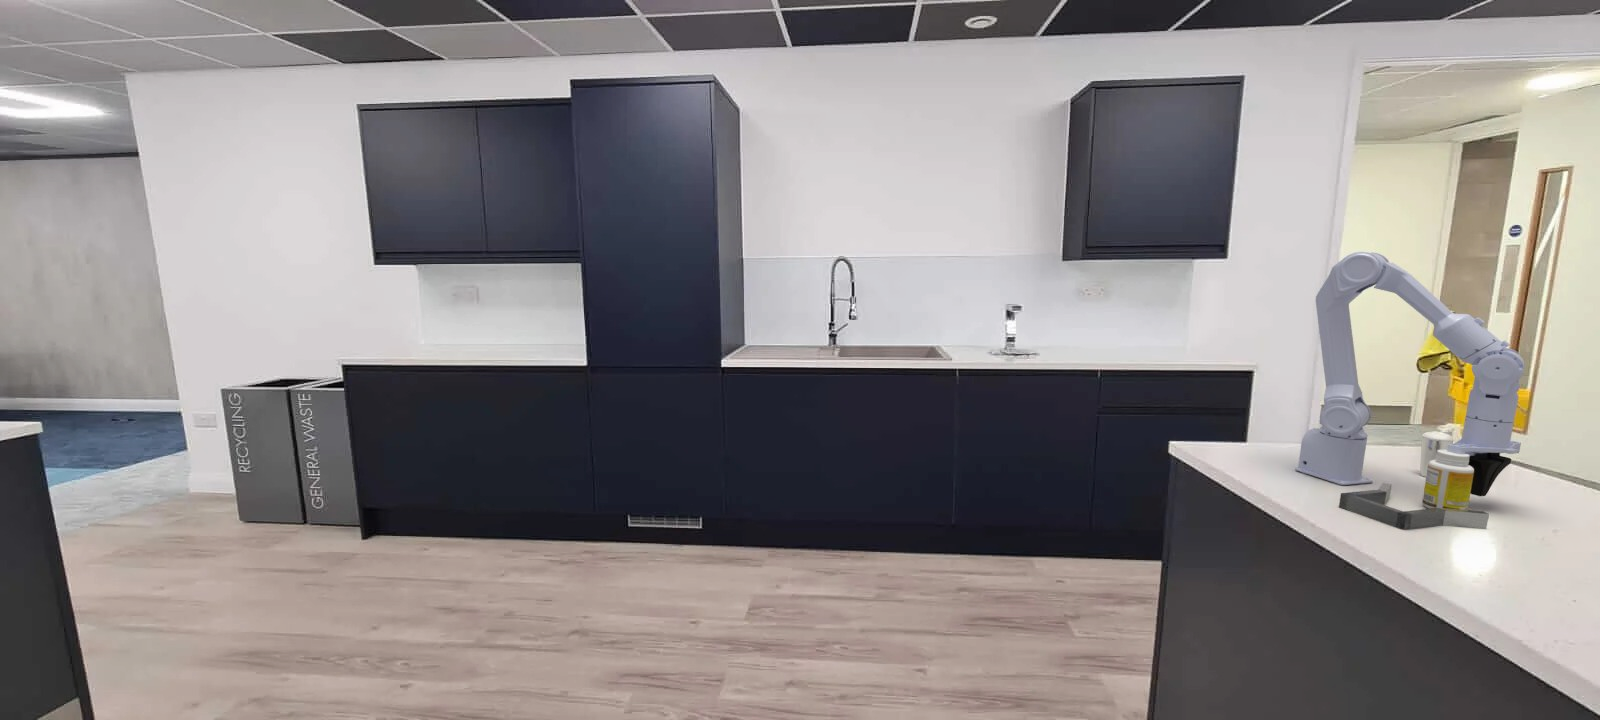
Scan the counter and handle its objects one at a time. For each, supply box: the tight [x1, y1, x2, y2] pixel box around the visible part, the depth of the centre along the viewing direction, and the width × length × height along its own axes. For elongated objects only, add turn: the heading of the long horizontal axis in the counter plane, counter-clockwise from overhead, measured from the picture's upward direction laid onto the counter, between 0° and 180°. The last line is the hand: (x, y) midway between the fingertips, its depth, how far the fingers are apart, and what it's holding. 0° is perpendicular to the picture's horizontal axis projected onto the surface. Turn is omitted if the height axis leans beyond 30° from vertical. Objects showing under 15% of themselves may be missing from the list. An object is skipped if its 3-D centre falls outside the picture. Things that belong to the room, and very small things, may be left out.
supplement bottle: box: [1422, 450, 1474, 510], centre depth 110 cm, size 6×6×10 cm
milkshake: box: [1417, 425, 1455, 478], centre depth 128 cm, size 4×5×10 cm
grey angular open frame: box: [1338, 482, 1490, 531], centre depth 109 cm, size 15×14×2 cm
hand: (1475, 494), depth 113 cm, fingers closed
